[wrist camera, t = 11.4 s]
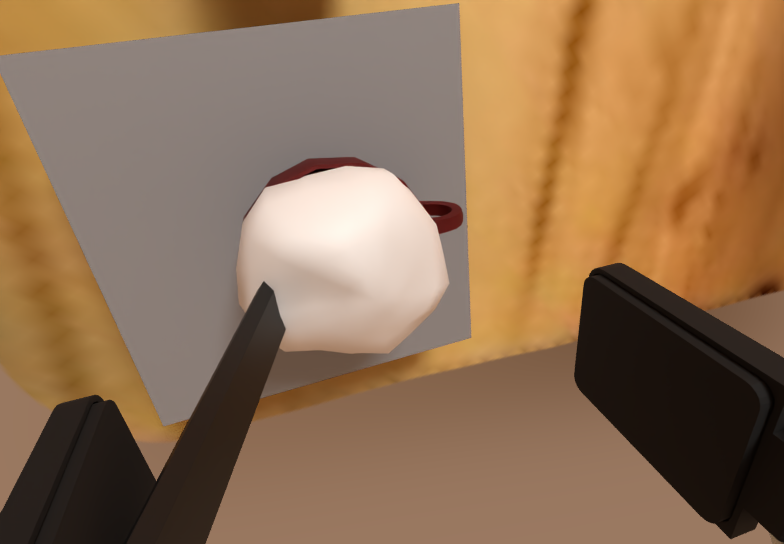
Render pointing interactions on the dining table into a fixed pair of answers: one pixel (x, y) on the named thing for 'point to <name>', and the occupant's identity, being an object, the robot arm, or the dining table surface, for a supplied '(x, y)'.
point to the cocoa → (303, 312)
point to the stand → (238, 168)
